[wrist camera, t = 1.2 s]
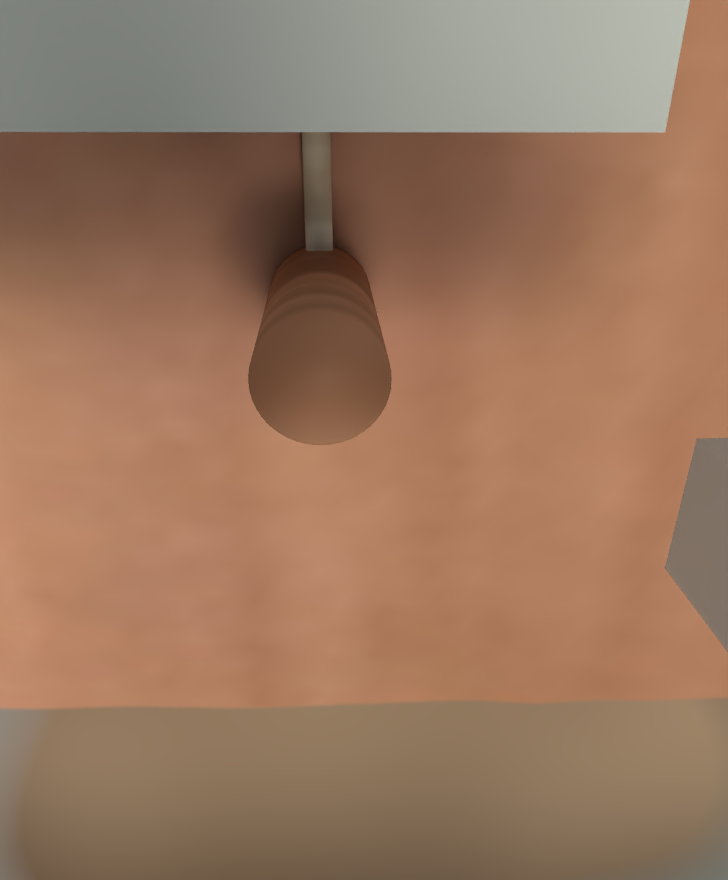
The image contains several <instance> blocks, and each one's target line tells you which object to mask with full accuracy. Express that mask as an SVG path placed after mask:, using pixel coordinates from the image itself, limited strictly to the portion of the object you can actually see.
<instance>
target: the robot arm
mask: <svg viewBox="0 0 728 880" xmlns="http://www.w3.org/2000/svg"><path fill="white" fill-rule="evenodd" d="M665 569H666V570H667V571H668V573H669V574H670V575H671V577H672V578H673V579H674V581H675V582H676V583H677V585H678V586H679V587H680V589H681V590H682V591H683V593H684V594H685V595H686V597H687V598H688V599H689V601H690V602H691V603H692V605H693V606H694V607H695V609H696V610H697V612H698V613H699V614H700V616H701V617H702V618H703V620H704V621H705V622H706V624H707V625H708V626H709V628H710V629H711V630H712V632H713V633H714V634H715V636H716V637H717V638H718V640H719V641H720V642H721V644H722V645H723V646H724V648H725V649H726V650H727V652H728V438H706V439H697V440H696V444H695V448H694V452H693V456H692V460H691V464H690V468H689V472H688V476H687V480H686V484H685V488H684V493H683V497H682V501H681V505H680V509H679V513H678V517H677V521H676V525H675V529H674V533H673V537H672V541H671V545H670V550H669V554H668V558H667V562H666V566H665Z"/></svg>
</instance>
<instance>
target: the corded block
mask: <svg viewBox="0 0 728 880" xmlns="http://www.w3.org/2000/svg"><path fill="white" fill-rule="evenodd" d="M302 155H303V183H304V211H305V239H306V247H305V248H302V249H299V250H298V251H296V252H294V253H292V254H291V255H289V256H288V257H287V258H286V259H285V260H284V261H283V262H282V263H281V265H280V266H279V267H278V269H277V271H276V273H275V275H274V277H273V280H272V284H271V288H270V291H269V295H268V299H267V303H266V306H265V310H264V314H263V318H262V321H261V325H260V329H259V332H258V336H257V340H256V344H255V347H254V351H253V355H252V359H251V362H250V366H249V374H248V379H249V389H250V394H251V397H252V400H253V403H254V405H255V407H256V409H257V410H258V412H259V414H260V415H261V417H262V418H263V419H264V420H265V421H266V422H267V423H268V424H269V425H270V426H271V427H272V428H273V429H274V430H276V431H277V432H279V433H280V434H282V435H284V436H285V437H287V438H290V439H292V440H294V441H297V442H301V443H305V444H311V445H329V444H335V443H340V442H343V441H346V440H349V439H351V438H353V437H355V436H357V435H359V434H360V433H362V432H364V431H365V430H366V429H367V428H369V427H370V426H371V425H372V424H373V423H374V422H375V421H376V420H377V418H378V417H379V416H380V414H381V413H382V411H383V409H384V407H385V406H386V403H387V401H388V398H389V394H390V390H391V369H390V363H389V359H388V355H387V352H386V348H385V344H384V340H383V336H382V332H381V328H380V324H379V320H378V316H377V312H376V309H375V305H374V301H373V297H372V293H371V289H370V285H369V282H368V279H367V276H366V274H365V272H364V270H363V269H362V267H361V266H360V264H359V263H358V262H357V261H356V260H355V259H354V258H353V257H352V256H350V255H349V254H347V253H346V252H344V251H342V250H340V249H338V248H335V247H333V227H332V171H331V132H302Z"/></svg>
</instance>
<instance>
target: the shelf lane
mask: <svg viewBox="0 0 728 880" xmlns="http://www.w3.org/2000/svg"><path fill="white" fill-rule="evenodd" d="M689 2H690V0H0V132H665V130H666V125H667V119H668V114H669V109H670V103H671V98H672V93H673V87H674V82H675V77H676V71H677V66H678V60H679V55H680V50H681V44H682V39H683V34H684V28H685V23H686V18H687V12H688V7H689Z"/></svg>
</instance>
